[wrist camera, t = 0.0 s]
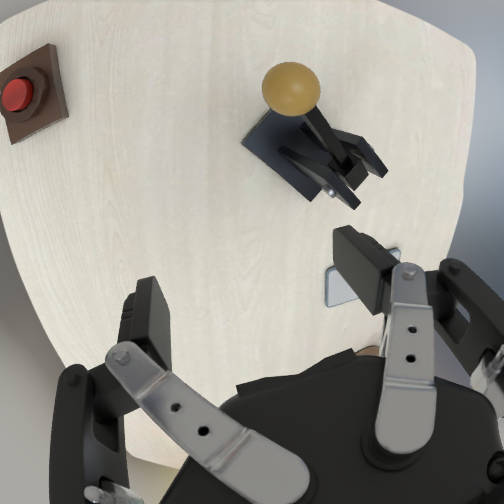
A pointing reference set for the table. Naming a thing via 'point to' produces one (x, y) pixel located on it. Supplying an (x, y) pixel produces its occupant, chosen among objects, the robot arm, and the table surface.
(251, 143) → the latch bracket
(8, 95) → the release button
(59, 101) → the block
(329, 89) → the table surface
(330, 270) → the smartphone
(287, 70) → the latch lever
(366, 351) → the vase
